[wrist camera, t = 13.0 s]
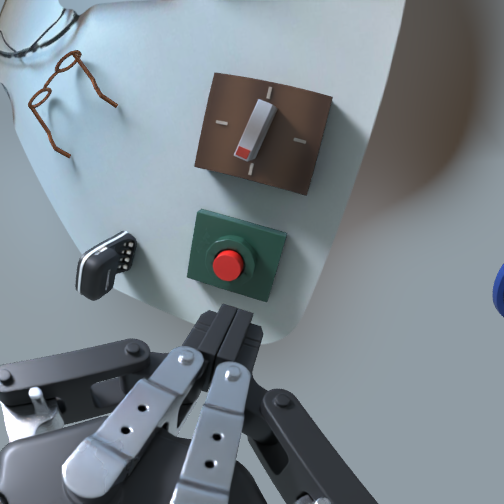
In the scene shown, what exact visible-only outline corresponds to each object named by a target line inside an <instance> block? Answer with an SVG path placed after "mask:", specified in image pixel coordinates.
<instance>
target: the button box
mask: <svg viewBox="0 0 504 504" xmlns="http://www.w3.org/2000/svg"><path fill="white" fill-rule="evenodd" d="M286 237H287V233H286V232H282V231H279V230H275V229H272V228H268V227H265V226H261V225H258V224H254V223H251V222H247V221H244V220H240V219H237V218H233V217H229V216H226V215H222V214H218V213H215V212H211V211H207V210H204V209H201V210H199V211H198V212H197V216H196V222H195V228H194V234H193V240H192V247H191V253H190V260H189V266H188V273H187V278H191V279H194V280H197V281H200V282H203V283H206V284H209V285H212V286H215V287H218V288H222V289H225V290H228V291H231V292H234V293H238V294H241V295H244V296H247V297H251V298H254V299H257V300H261V301H264V302H267V301H268V298H269V295H270V292H271V288H272V285H273V281H274V278H275V275H276V271H277V268H278V264H279V261H280V257H281V254H282V251H283V247H284V244H285V240H286ZM225 250H233V251H235V252H237V253H238V254H239V255H240V256H241V257H242V259H243V263H244V266H243V269H242V271H241V273H240V275H239V276H238V277H237V278H236V279H235V280H232V281H225V280H222V279H220V278H219V277H218V276H217V275H216V274H215V272H214V270H213V262H214V260H215V259H216V257H217V256H218V255H219V254H220V253H221V252H222V251H225Z"/></svg>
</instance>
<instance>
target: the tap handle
mask: <svg viewBox="0 0 504 504" xmlns="http://www.w3.org/2000/svg"><path fill="white" fill-rule="evenodd" d="M277 110H278V108H277V107H275V106H274V105H272V104H270V103H267V102H265V101H262V100H260V99H258V101H257V104H256V106H255V108H254V110H253V113H252V115H251V117H250V119H249V122H248V124H247V126H246V128H245V131H244V133H243V135H242V137H241V140H240V142H239V144H238V147H237V149H236V151H235V154H234V156H236V157H238V158H240V159H243V160H245V161H250V160H253V159H255V158H256V156H257V154H258V151H259V149H260V147H261V145H262V142H263V140H264V138H265V136H266V134H267V131H268V129H269V127H270V125H271V123H272V120H273V118H274V116H275V114H276V112H277Z"/></svg>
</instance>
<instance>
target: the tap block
mask: <svg viewBox="0 0 504 504" xmlns="http://www.w3.org/2000/svg"><path fill="white" fill-rule="evenodd" d="M332 98H333V97H331V96H327V95H323V94H320V93H316V92H312V91H308V90H304V89H300V88H296V87H292V86H287V85H283V84H278V83H274V82H269V81H264V80H258V79H253V78H247V77H241V76H235V75H228V74H221V73H214V77H213V81H212V85H211V89H210V94H209V98H208V103H207V107H206V112H205V116H204V121H203V125H202V130H201V135H200V140H199V145H198V150H197V155H196V161H195V166H194V167H198V168H202V169H207V170H211V171H215V172H219V173H223V174H227V175H231V176H236V177H240V178H243V179H247V180H251V181H255V182H259V183H263V184H266V185H270V186H274V187H278V188H281V189H285V190H288V191H292V192H295V193H299V194H302V195H306V196H307V193H308V189H309V186H310V182H311V178H312V175H313V171H314V167H315V164H316V160H317V156H318V152H319V149H320V145H321V141H322V137H323V133H324V130H325V126H326V122H327V118H328V114H329V110H330V106H331V102H332ZM258 99H260V100H262V101H265V102H267V103H270V104H272V105H274V106H275V107H277V108H278V110H277V112H276V114H275V116H274V118H273V120H272V123H271V125H270V127H269V129H268V131H267V134H266V136H265V138H264V140H263V142H262V145H261V147H260V149H259V151H258V154H257V156H256V158H255V159H253V160H250V161H245V160H243V159H240V158H238V157H236V156H234V154H235V151H236V149H237V147H238V144H239V142H240V140H241V137H242V135H243V133H244V131H245V128H246V126H247V124H248V122H249V119H250V117H251V115H252V113H253V110H254V108H255V106H256V104H257V101H258Z"/></svg>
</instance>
